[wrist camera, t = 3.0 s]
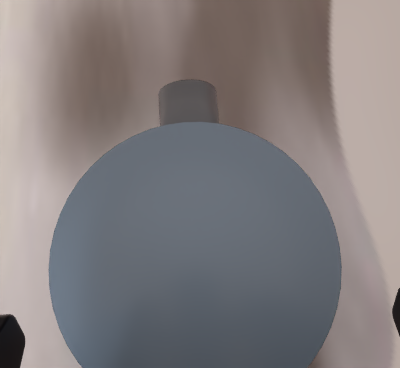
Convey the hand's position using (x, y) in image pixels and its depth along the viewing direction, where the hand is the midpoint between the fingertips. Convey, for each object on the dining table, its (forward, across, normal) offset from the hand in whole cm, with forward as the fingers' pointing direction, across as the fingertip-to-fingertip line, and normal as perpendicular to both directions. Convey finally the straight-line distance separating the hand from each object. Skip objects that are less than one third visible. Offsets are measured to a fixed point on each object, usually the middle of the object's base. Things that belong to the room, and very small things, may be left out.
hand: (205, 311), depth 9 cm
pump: (+7, 0, +5) cm, 9 cm away
